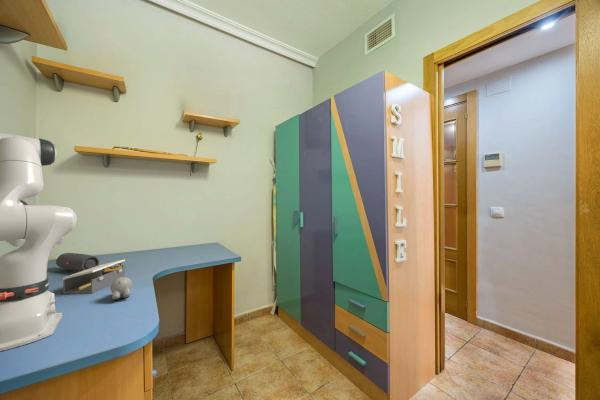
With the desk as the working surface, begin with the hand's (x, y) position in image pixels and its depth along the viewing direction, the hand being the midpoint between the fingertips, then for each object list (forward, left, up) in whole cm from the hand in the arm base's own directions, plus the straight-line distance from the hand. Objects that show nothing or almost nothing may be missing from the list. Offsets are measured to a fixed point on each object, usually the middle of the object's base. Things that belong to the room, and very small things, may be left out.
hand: (50, 246), depth 108 cm
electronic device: (+11, -25, -20) cm, 33 cm away
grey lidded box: (-12, -15, -19) cm, 27 cm away
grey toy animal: (-36, -20, -19) cm, 45 cm away
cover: (-11, -15, -11) cm, 22 cm away
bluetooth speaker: (+25, -11, -19) cm, 34 cm away
